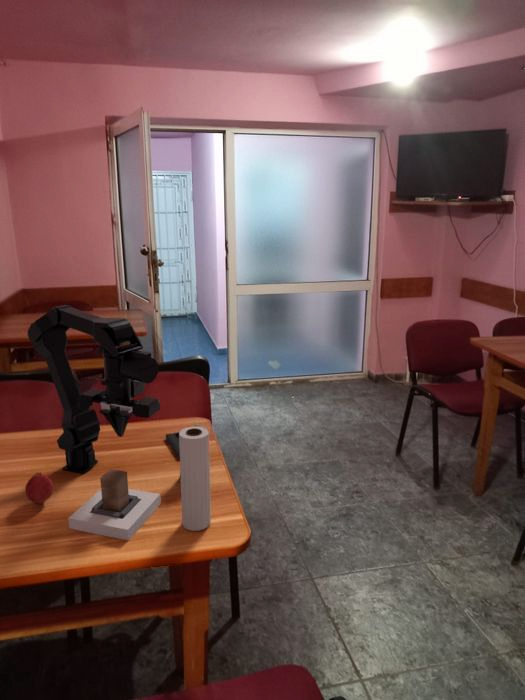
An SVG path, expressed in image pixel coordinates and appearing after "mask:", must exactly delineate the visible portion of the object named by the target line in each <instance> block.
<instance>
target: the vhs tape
mask: <svg viewBox="0 0 525 700" xmlns="http://www.w3.org/2000/svg"><path fill="white" fill-rule="evenodd" d="M179 433H180V431H179V432H174V433H166V434H165V439H166V441H167V443H168V444H169V445H170V448H172V451H173V452H174V453H175V454H176V457H177V458H178V459H179V461H180V447H179Z"/></svg>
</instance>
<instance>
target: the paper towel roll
mask: <svg viewBox="0 0 525 700" xmlns="http://www.w3.org/2000/svg"><path fill="white" fill-rule="evenodd" d="M194 424H195V425H194V426H189V427H185V428H182V429H181V430H179V432H180V433H179V447H180V460H179V470H180V471H179V474H180V473H181V481H180V492H181V493H180V494H181V496H180V497H181V518H182V519H181V521H182V523H181V524H182V527H184V528H185V529H186V530H188V531H193V532H199V531H202V530H205V529H207V528H208V527H209V526H210V525H211V522H212V521H211V519H212V516H211V515H212V514H211V511H212V510H211V474H210V473H211V472H210V471H211V469H210V432H209V429H207V428H206V427H205V426H202V425H200V424H198V423H197V422H195V423H194Z"/></svg>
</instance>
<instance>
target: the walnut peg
mask: <svg viewBox="0 0 525 700" xmlns="http://www.w3.org/2000/svg"><path fill="white" fill-rule="evenodd" d="M99 479H100V480H99V481H100V488H101V489H100V490H101V492H102V504H103V510H108V511H114V512H119V513H121V512H122V511H123V510H124V509H125V508H126V507H127V506H128V505H129V493H128V489H129V483H128V482H129V481H128V471H124V470H120V469H112V468H110V469H109V470H108V471H106V473H104V474H103V475H102V476H101V477H99Z"/></svg>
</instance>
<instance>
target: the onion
mask: <svg viewBox="0 0 525 700" xmlns="http://www.w3.org/2000/svg"><path fill="white" fill-rule="evenodd" d="M52 481H53V480H52V479H50V478H49V477H48V476H47V475H45V474H42V472H41V471H37V472H35V474H34V475H32V476H31V477H30V478H29V480H28V481H27V483H26V485H25V496H26V498H27V499H28V500H29V501H31V502H33V503H35V504H39V505H41V504H42V505H43V504H44V503H45V502H46V501H48V499H49V498H51V496H52V494H53V493H54V483H53V482H52Z"/></svg>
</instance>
